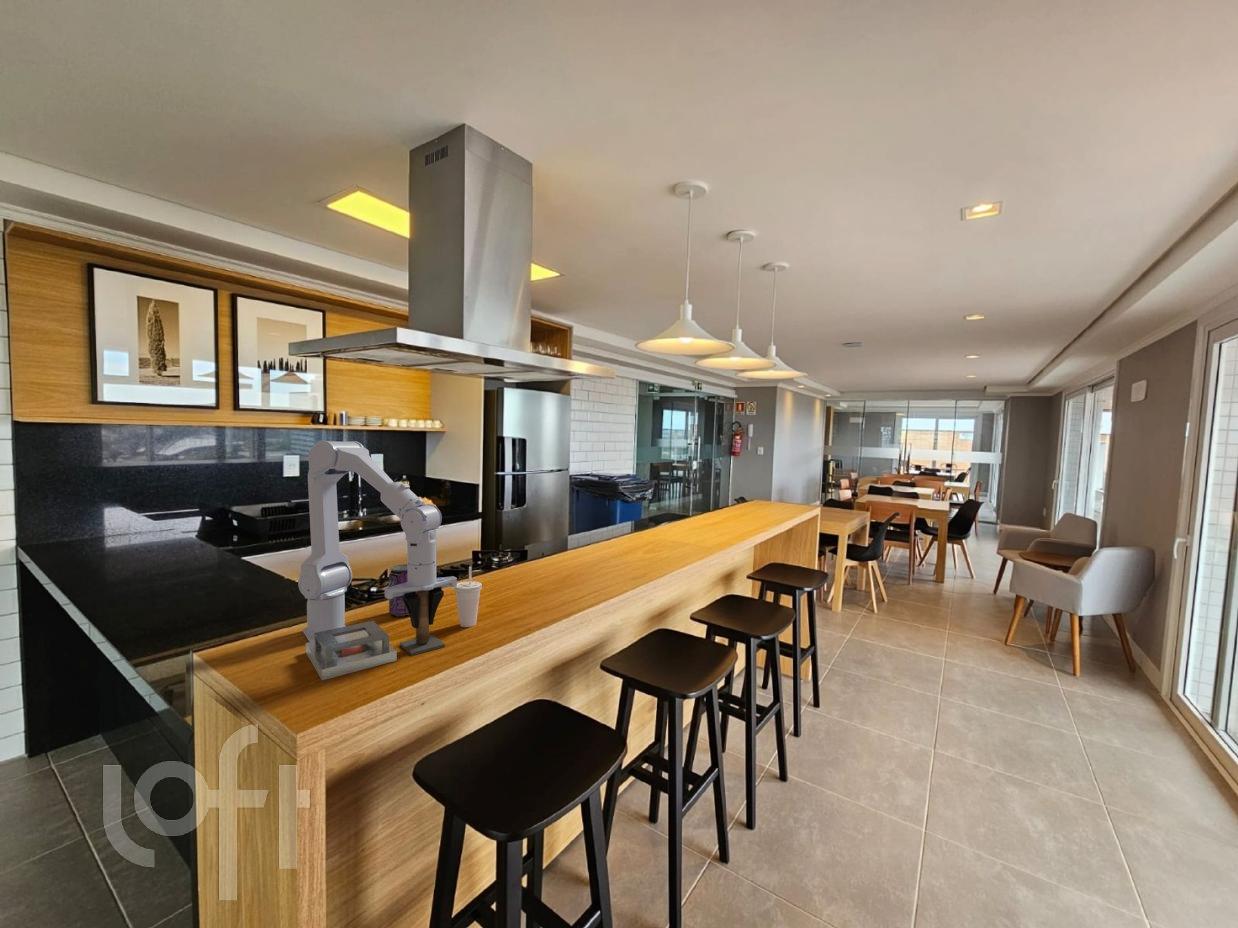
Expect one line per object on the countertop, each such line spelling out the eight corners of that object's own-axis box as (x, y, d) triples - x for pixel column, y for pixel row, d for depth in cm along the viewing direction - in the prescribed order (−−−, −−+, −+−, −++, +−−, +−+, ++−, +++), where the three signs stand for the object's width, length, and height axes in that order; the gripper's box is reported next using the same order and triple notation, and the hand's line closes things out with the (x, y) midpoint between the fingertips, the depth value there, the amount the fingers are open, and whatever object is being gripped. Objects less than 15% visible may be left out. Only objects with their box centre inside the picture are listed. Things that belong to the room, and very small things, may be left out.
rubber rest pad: (400, 645, 106) (400, 642, 106) (432, 637, 111) (432, 634, 111) (411, 655, 101) (411, 652, 101) (445, 646, 106) (444, 644, 106)
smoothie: (473, 630, 115) (473, 570, 115) (448, 628, 117) (448, 569, 116) (486, 620, 122) (486, 564, 121) (462, 618, 123) (462, 562, 122)
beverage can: (391, 610, 129) (390, 564, 129) (420, 607, 131) (420, 562, 131) (387, 619, 122) (386, 571, 122) (418, 616, 124) (417, 569, 124)
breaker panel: (305, 652, 102) (305, 629, 102) (373, 637, 111) (373, 615, 111) (322, 680, 90) (321, 654, 90) (396, 660, 99) (396, 636, 99)
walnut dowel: (414, 640, 106) (414, 589, 106) (427, 637, 108) (426, 587, 107) (418, 644, 104) (417, 592, 104) (430, 641, 106) (430, 590, 105)
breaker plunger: (340, 657, 99) (340, 644, 99) (359, 652, 102) (359, 640, 102) (344, 663, 97) (344, 650, 97) (364, 658, 99) (364, 645, 99)
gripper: (392, 571, 98) (392, 639, 98) (462, 560, 107) (462, 622, 108) (381, 564, 103) (381, 629, 103) (449, 555, 112) (449, 614, 113)
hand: (422, 625), depth 106 cm, fingers closed on walnut dowel, 2 cm apart
